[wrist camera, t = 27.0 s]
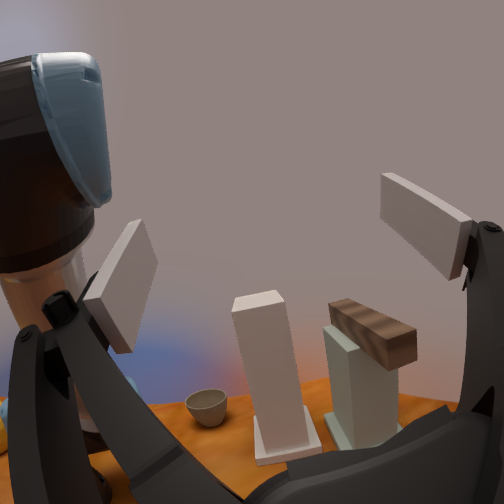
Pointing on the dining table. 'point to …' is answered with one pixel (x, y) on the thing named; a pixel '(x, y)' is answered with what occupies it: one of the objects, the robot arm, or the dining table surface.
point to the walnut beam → (375, 333)
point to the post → (359, 395)
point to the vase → (3, 437)
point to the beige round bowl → (207, 406)
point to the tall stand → (273, 380)
